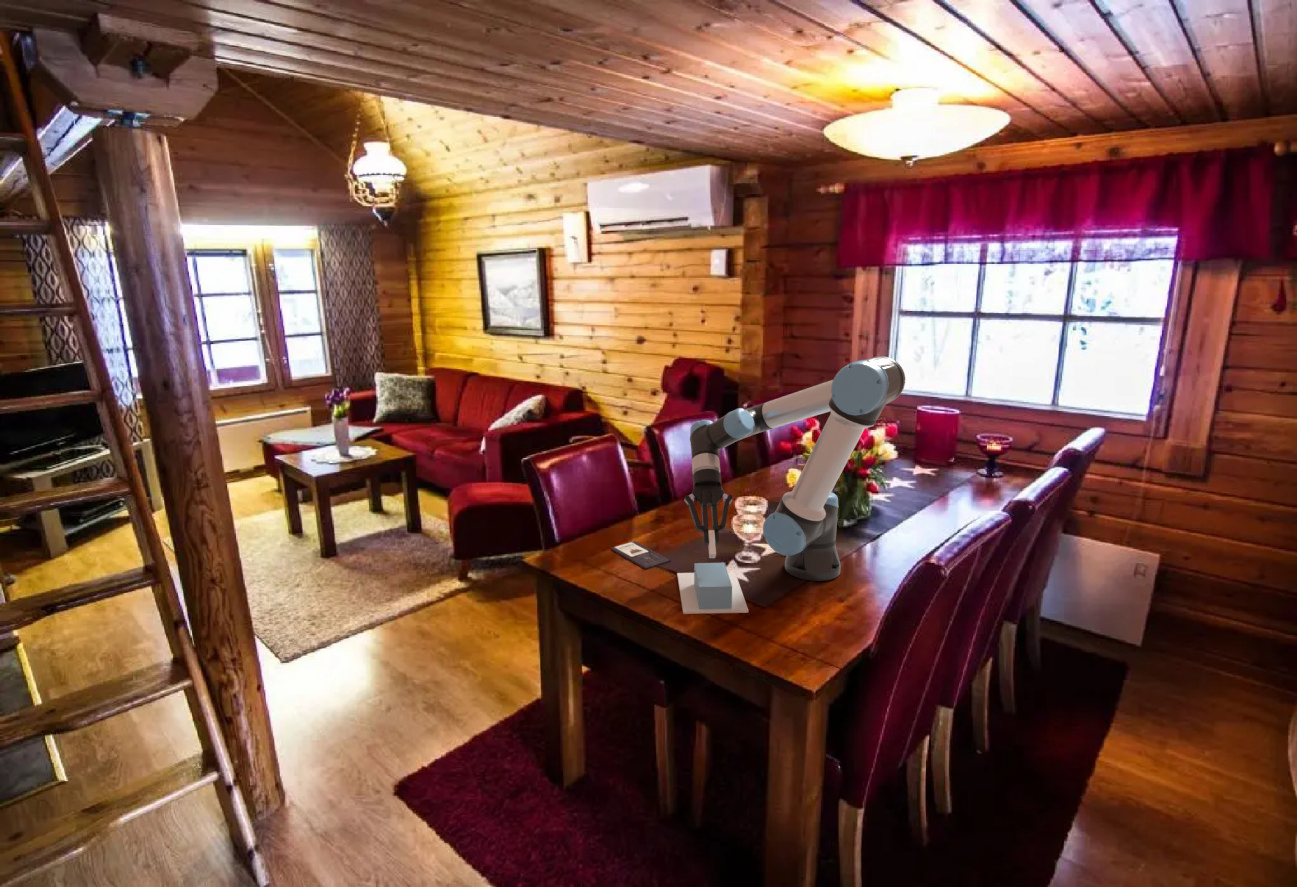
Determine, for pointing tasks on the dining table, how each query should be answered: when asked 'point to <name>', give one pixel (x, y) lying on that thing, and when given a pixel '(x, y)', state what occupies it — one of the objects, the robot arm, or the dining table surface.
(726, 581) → the blue block
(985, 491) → the dining table surface
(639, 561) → the chocolate bar
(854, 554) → the dining table surface
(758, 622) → the dining table surface
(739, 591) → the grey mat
